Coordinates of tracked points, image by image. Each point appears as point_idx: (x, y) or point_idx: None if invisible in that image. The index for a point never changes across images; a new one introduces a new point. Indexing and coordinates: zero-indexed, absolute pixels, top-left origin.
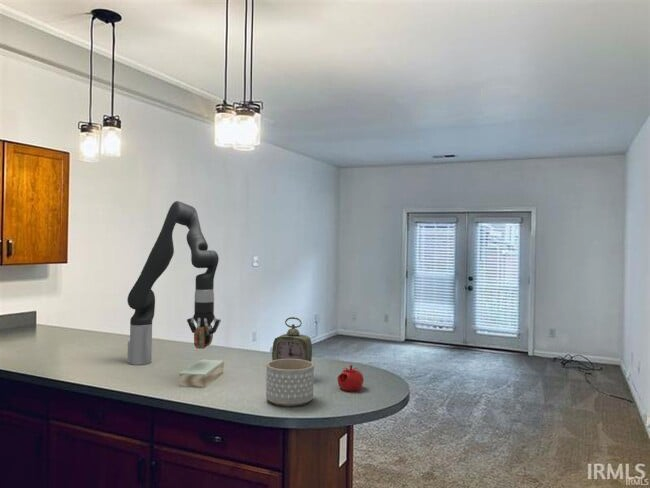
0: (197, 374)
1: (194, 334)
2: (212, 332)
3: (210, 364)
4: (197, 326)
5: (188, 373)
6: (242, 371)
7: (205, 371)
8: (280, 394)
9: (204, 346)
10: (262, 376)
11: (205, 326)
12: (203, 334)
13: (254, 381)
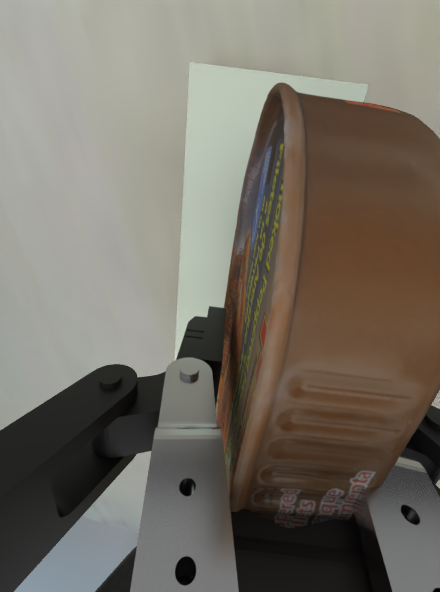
0: (241, 70)
1: (428, 129)
2: (104, 375)
3: (216, 303)
4: (425, 503)
5: (304, 76)
6: (120, 357)
7: (205, 143)
8: None
9: (234, 284)
10: (22, 298)
11: (214, 484)
12: (248, 343)
13: (18, 225)
